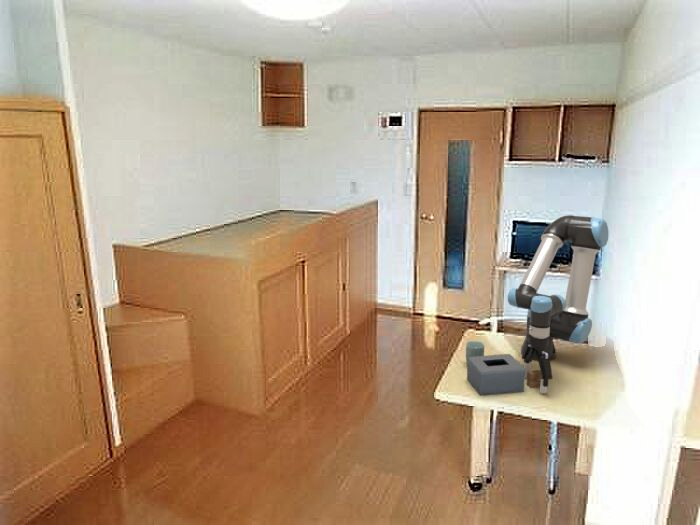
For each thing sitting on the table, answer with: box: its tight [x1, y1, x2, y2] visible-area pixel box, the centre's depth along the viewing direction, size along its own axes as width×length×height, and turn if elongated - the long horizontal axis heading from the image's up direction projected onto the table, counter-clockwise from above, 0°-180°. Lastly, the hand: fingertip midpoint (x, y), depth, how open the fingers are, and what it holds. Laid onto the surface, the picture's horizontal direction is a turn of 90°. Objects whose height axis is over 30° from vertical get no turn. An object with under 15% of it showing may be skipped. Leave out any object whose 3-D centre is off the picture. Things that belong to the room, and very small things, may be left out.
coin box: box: [466, 353, 526, 397], centre depth 207 cm, size 18×14×10 cm
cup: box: [465, 340, 485, 365], centre depth 225 cm, size 8×8×10 cm
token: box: [526, 369, 542, 389], centre depth 207 cm, size 6×3×6 cm, turn 98°
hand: (535, 385), depth 207 cm, fingers open, 12 cm apart
